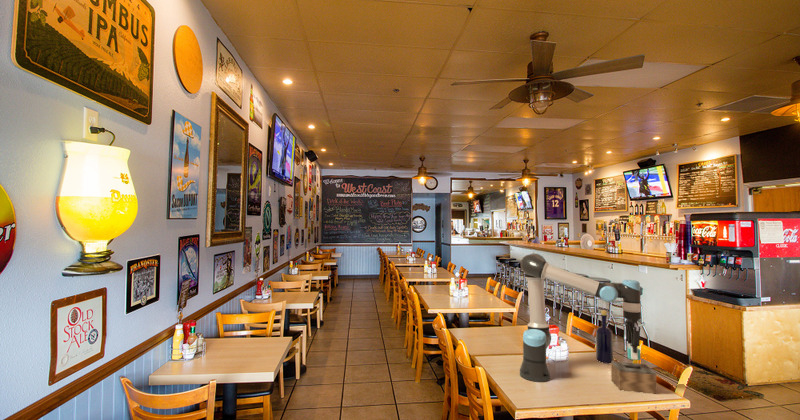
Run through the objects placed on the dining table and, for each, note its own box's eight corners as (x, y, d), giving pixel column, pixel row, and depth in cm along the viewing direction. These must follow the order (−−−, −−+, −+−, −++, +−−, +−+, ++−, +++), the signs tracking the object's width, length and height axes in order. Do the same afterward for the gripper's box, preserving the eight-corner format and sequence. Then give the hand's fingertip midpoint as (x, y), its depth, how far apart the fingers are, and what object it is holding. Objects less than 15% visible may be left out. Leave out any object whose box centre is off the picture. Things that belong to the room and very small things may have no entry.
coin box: (619, 390, 180) (619, 369, 180) (611, 380, 192) (611, 361, 192) (656, 394, 176) (656, 373, 177) (645, 384, 188) (645, 364, 189)
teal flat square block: (629, 359, 184) (629, 349, 184) (627, 357, 186) (627, 347, 187) (640, 360, 183) (640, 349, 183) (638, 358, 185) (638, 348, 186)
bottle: (613, 360, 223) (612, 310, 225) (612, 364, 215) (612, 313, 217) (596, 357, 228) (596, 308, 230) (595, 361, 220) (594, 311, 222)
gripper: (646, 314, 178) (648, 363, 176) (634, 308, 193) (635, 353, 191) (629, 313, 179) (631, 362, 178) (618, 307, 194) (619, 352, 193)
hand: (633, 357), depth 185 cm, fingers closed on teal flat square block, 2 cm apart
